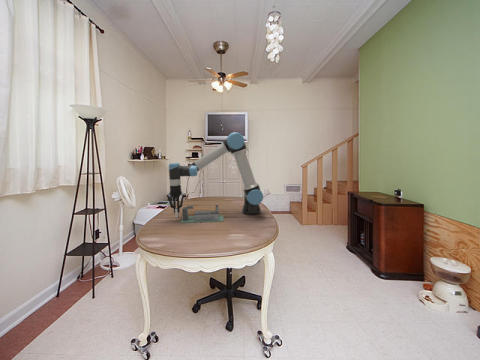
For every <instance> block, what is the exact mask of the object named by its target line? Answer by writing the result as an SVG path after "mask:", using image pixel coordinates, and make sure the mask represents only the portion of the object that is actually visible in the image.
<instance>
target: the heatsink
mask: <svg viewBox="0 0 480 360" xmlns="http://www.w3.org/2000/svg"><path fill="white" fill-rule="evenodd" d="M214 208H215V209H216V211H213V210H195V211H194V215H193V216H194V221H214V220H219V215H220V212H219V205H218V204H216V205H215V207H214Z"/></svg>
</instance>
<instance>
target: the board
mask: <svg viewBox="0 0 480 360" xmlns="http://www.w3.org/2000/svg"><path fill="white" fill-rule="evenodd" d="M180 220H181V221H179V223H180V224H186V223H187V224H188V223H189V224H190V223H214V222H215V223H216V222H218V223H219V222H224V215H223V214H221V215H220V214H219V220H214V221H194V215H191V216H190V215H188V219H187V220H183V218H182V219H180Z"/></svg>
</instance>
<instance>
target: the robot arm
mask: <svg viewBox="0 0 480 360" xmlns="http://www.w3.org/2000/svg"><path fill="white" fill-rule="evenodd" d="M246 150H247V146H246V143H245V137H244V135H242V134H241V133H240V132H237V131H234V132H231V133H229V135H228V136H227V137H226V139H225V140H223V141H222V142H221V144H220V145H218V146H216V147H215V148H213V149H212V150H211V151H209V152H207V153H205V154H204V155H202V156H201V157H200V158H198V159H197V160H194V161H193V162H192V163H191V164H189V165H181V164H180V163H179V162H178V163H177V162H174V163H169V164H168V174H169V175H168V176H169V179H168V180H169V193H168V194H166V198H167V199H168V202H169V205H170V208H171V209H173V213H174V214H175V218H176V219H177V218H179V213H180V212H181V210H180V209H182V208H183V203H184V198H185V196H186V193H184V192H183V191H182V186H181V184H182V182H181V181H182V180H181V177H197V176H198V172H199V171H200V170H202V169H203V168H205V167H207V166H209V165H210V164H212V163H213V162H214V161H216V160H218V159H219V158H221V157H223V156H224V155H225V154H227V153H230V154H231V155H232V156H234V159H235V163H236V166H237V168H238V171H239V174H240V177H241V180H242V182H243V185H244V186H243V192H244V193H243V197H244V199H243V200H244V202H243V206H242V211H241V212H242V214H244V215H247V216H255V215H260V214H261V213H262V211H261V206H260V204H262V201H263V200H264V193H263V192H262V190H261V187H260V184H259V183H258V182H256V180H255V177H254V174H253V171H252V168H251V164H250V162H249V159H248V156H247V151H246ZM180 197H181V198H180Z"/></svg>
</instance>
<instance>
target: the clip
mask: <svg viewBox="0 0 480 360" xmlns="http://www.w3.org/2000/svg"><path fill="white" fill-rule="evenodd" d="M194 208H195V205H187V206H184V207H183V206H182V208H181V213H182V214H181V215H182V219H183V220H187V219H188V217H189V210H192V209H194Z"/></svg>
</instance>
